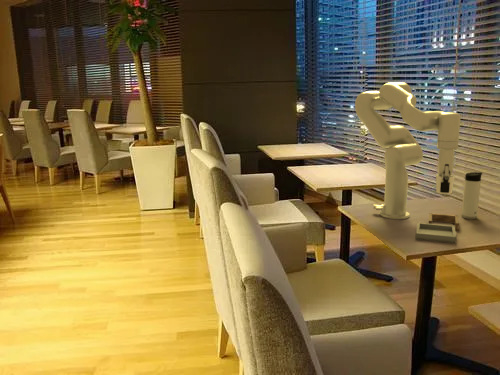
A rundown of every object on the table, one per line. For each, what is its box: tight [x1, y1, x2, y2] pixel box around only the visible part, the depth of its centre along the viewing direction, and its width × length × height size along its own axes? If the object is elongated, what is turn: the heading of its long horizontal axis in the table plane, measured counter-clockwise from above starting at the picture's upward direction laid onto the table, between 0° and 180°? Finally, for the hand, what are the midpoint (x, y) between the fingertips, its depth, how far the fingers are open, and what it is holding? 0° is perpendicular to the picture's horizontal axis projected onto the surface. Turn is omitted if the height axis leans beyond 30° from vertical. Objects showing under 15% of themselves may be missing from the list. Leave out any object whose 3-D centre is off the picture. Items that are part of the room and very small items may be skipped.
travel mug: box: [461, 171, 483, 220], centre depth 206 cm, size 6×7×20 cm
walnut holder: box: [427, 212, 460, 231], centre depth 198 cm, size 11×12×3 cm
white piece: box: [435, 173, 456, 195], centre depth 187 cm, size 7×7×7 cm
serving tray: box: [415, 222, 457, 244], centre depth 185 cm, size 14×14×2 cm
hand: (444, 190), depth 188 cm, fingers closed on white piece, 5 cm apart
